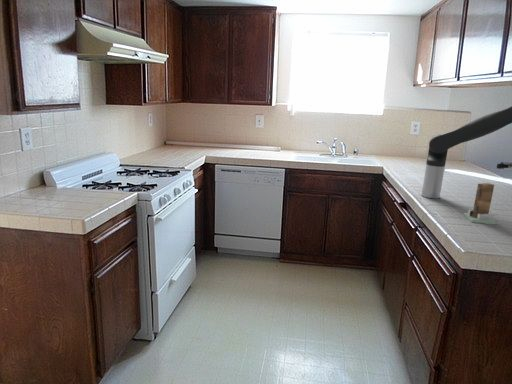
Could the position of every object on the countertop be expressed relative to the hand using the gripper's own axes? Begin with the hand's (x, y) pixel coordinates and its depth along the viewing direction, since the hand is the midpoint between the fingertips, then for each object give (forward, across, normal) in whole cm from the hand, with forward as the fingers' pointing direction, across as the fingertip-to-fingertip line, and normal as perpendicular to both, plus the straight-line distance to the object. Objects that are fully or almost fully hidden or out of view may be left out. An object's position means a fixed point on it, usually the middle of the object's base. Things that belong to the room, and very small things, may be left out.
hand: (505, 168), depth 178 cm
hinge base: (+10, +2, +23) cm, 25 cm away
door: (+10, +2, +22) cm, 24 cm away
